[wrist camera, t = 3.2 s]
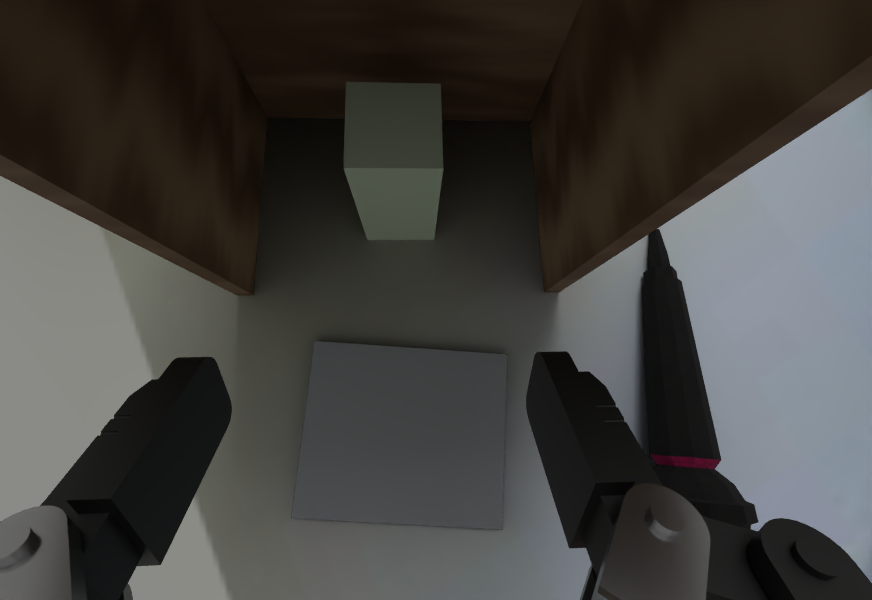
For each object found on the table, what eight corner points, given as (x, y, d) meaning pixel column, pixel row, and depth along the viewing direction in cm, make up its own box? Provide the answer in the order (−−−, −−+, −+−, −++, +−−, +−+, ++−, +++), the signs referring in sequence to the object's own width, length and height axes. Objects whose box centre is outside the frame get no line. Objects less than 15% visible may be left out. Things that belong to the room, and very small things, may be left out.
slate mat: (504, 355, 25) (507, 354, 25) (500, 526, 23) (502, 529, 22) (316, 341, 25) (314, 340, 24) (294, 514, 23) (290, 518, 22)
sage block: (432, 179, 28) (440, 83, 19) (434, 239, 27) (443, 168, 18) (368, 179, 27) (346, 81, 19) (367, 240, 26) (343, 167, 18)
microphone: (606, 251, 31) (629, 546, 24) (618, 211, 25) (653, 574, 19) (685, 248, 29) (734, 560, 22) (716, 204, 24) (792, 594, 17)
